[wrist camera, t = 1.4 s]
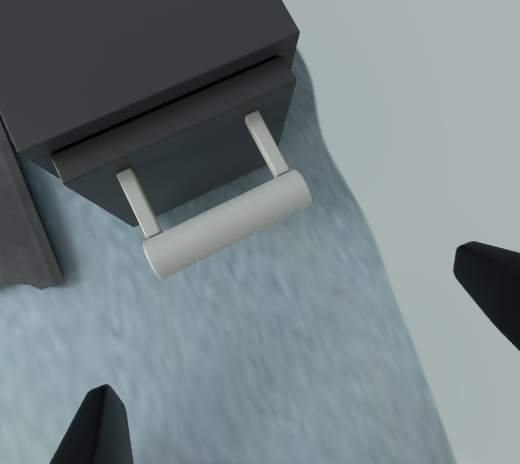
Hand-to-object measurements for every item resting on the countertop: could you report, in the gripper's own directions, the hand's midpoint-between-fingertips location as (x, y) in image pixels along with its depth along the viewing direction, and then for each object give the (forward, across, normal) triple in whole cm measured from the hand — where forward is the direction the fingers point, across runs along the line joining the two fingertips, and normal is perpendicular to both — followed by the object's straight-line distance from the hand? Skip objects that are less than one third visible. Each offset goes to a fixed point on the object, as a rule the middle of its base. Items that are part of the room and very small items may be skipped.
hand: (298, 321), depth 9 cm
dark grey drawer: (+17, +1, 0) cm, 17 cm away
